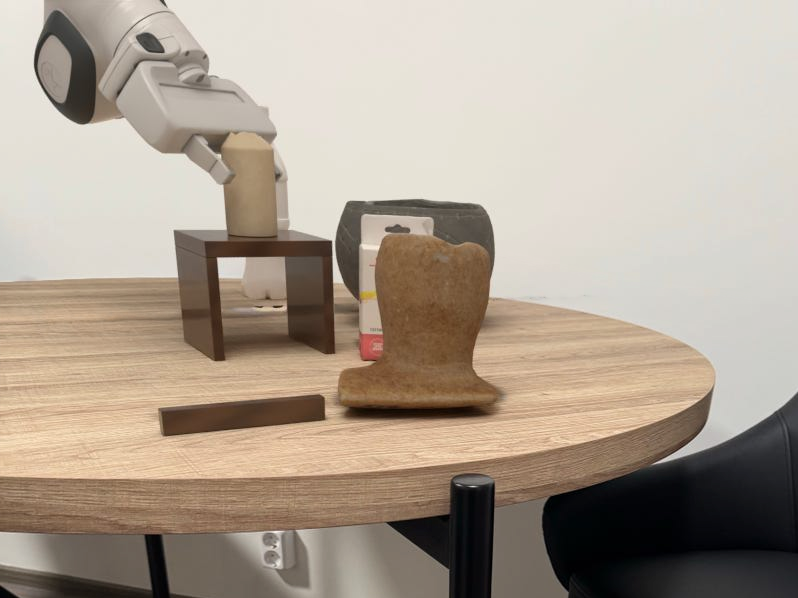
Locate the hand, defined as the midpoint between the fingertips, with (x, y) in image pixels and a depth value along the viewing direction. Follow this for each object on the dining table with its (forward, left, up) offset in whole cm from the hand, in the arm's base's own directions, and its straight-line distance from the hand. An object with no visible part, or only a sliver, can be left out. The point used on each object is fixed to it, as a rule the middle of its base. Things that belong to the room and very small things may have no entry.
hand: (253, 179), depth 101 cm
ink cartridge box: (+13, -10, -18) cm, 24 cm away
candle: (0, +1, -6) cm, 6 cm away
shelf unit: (0, 0, -18) cm, 17 cm away
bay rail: (-12, -31, -17) cm, 38 cm away
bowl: (+25, +9, -18) cm, 32 cm away
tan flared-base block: (+5, -30, -18) cm, 35 cm away
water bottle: (+11, +28, -18) cm, 35 cm away
